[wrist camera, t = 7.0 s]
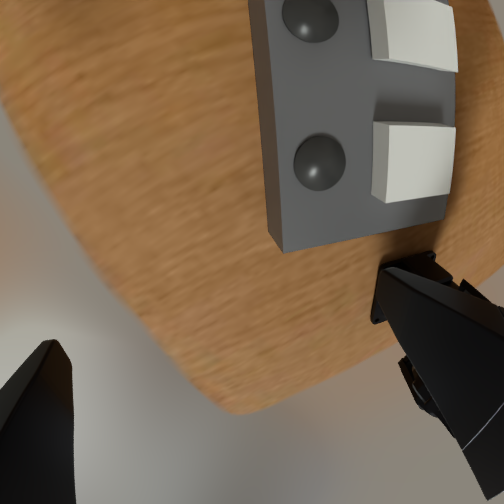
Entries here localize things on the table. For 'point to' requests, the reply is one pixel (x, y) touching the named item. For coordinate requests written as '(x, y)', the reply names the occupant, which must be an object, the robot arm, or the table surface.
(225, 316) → the table surface
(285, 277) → the table surface
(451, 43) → the middle button
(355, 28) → the control panel
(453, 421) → the robot arm
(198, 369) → the table surface
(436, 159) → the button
